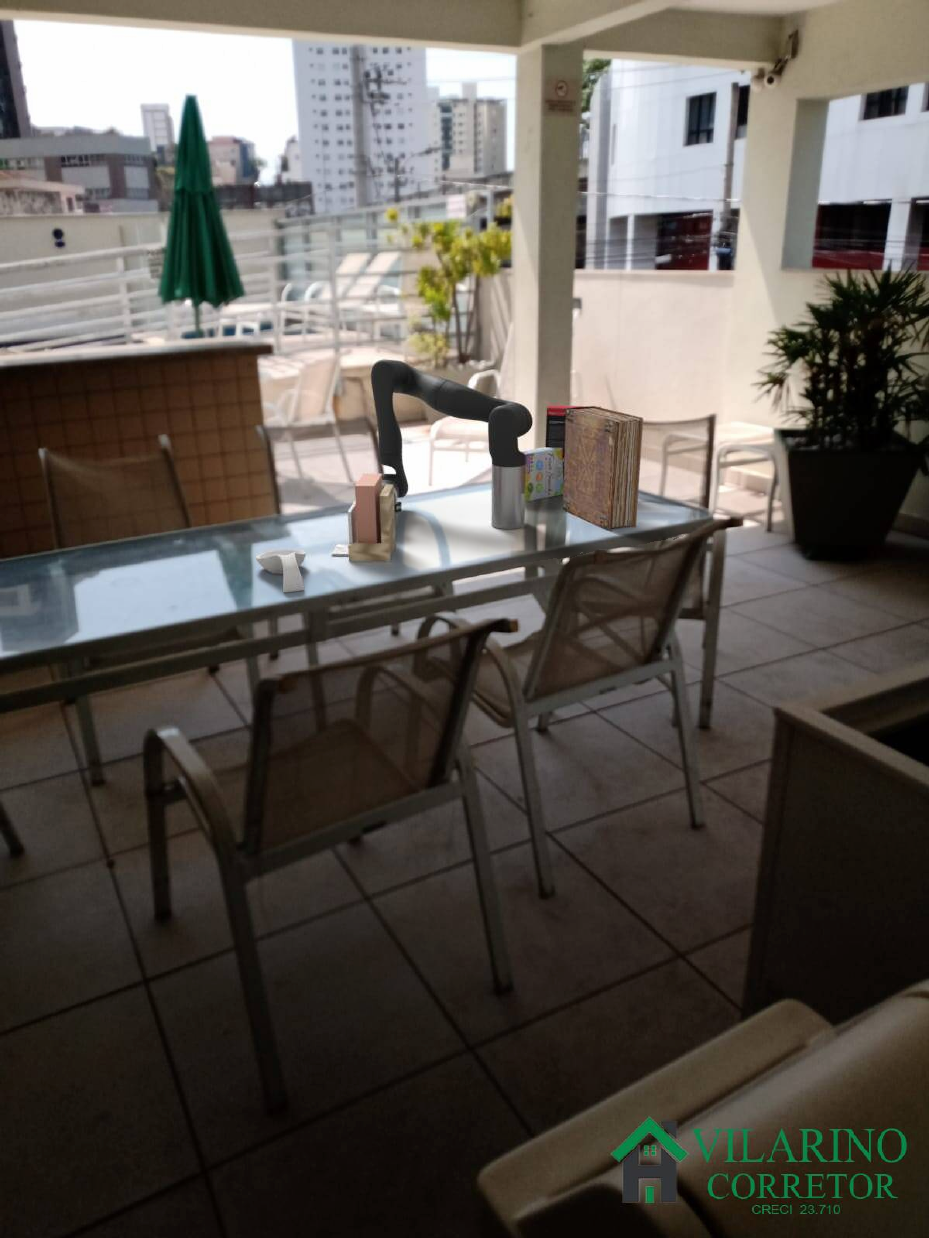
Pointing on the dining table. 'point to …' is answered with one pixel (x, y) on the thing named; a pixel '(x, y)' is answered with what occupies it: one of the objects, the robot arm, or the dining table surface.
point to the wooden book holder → (387, 533)
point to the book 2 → (602, 466)
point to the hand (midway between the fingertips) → (374, 514)
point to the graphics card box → (556, 428)
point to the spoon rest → (285, 567)
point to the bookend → (352, 524)
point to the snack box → (543, 473)
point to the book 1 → (368, 508)
